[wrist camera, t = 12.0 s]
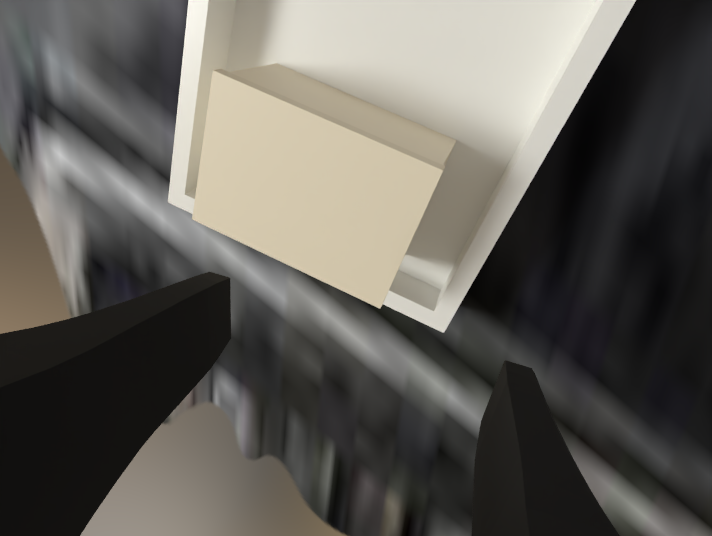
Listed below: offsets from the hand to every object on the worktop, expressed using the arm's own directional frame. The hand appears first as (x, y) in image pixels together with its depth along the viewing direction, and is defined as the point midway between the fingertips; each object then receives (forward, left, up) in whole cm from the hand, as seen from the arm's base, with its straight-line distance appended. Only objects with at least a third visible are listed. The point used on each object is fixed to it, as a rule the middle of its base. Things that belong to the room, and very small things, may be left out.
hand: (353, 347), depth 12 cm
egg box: (+4, 0, -10) cm, 11 cm away
